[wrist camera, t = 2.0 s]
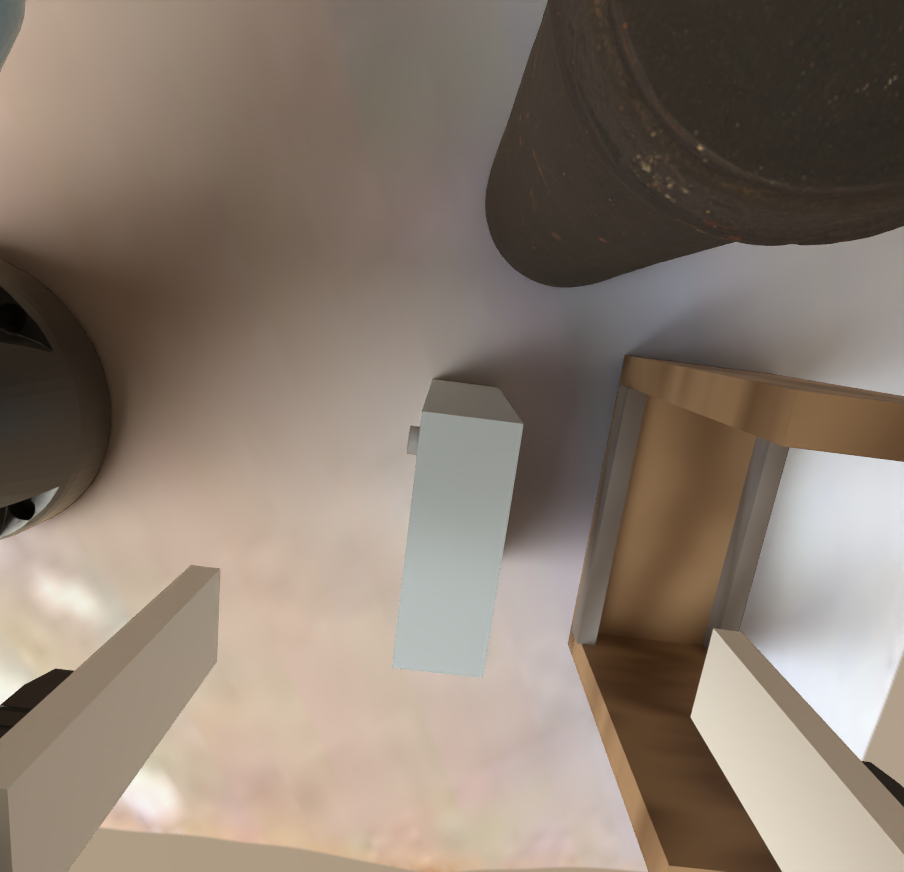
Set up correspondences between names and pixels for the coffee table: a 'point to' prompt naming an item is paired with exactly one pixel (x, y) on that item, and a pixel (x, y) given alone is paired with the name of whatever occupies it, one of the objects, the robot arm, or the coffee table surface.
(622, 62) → the container
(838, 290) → the coffee table surface
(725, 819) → the brown cabinet body
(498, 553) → the door slab
